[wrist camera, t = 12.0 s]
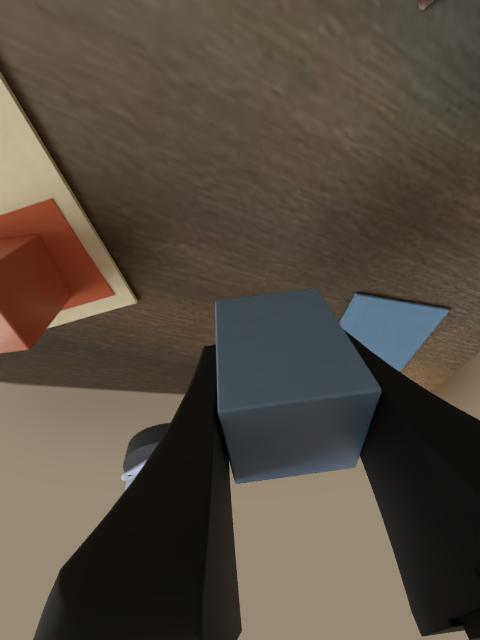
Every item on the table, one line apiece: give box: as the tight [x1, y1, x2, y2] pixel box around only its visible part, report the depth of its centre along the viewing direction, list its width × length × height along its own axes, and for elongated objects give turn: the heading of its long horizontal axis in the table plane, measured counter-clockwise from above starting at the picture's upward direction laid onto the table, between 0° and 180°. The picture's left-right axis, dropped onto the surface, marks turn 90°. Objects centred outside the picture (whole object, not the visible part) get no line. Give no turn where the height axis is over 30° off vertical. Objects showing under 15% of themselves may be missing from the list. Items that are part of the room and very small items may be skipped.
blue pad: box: [339, 293, 449, 372], centre depth 22 cm, size 8×8×1 cm
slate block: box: [215, 288, 381, 484], centre depth 10 cm, size 4×4×5 cm
